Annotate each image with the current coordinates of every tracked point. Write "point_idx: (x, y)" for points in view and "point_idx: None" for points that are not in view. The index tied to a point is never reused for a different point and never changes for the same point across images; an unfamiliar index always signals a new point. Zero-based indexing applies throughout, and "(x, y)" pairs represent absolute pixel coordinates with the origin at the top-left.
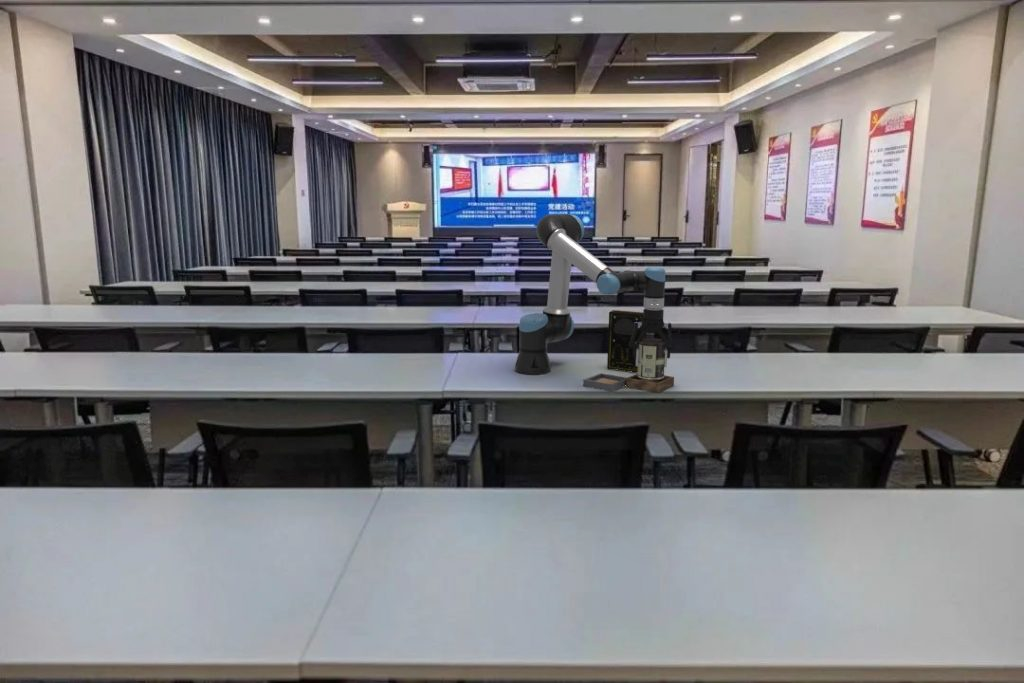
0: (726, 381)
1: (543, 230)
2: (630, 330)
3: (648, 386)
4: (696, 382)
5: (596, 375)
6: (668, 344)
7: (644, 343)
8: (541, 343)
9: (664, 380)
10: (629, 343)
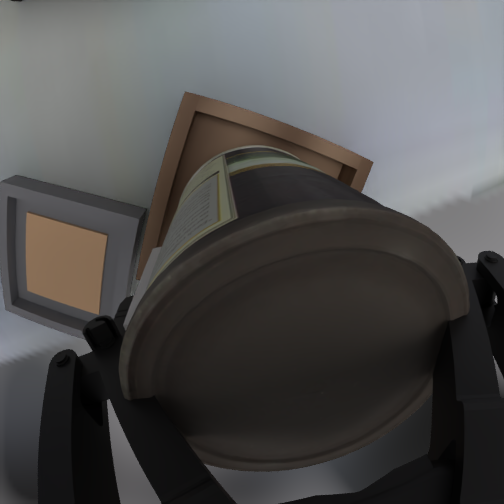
0: (497, 61)
1: None
2: None
3: None
4: (431, 79)
5: (4, 233)
6: (469, 286)
7: (238, 466)
8: None
9: None
10: (56, 380)
